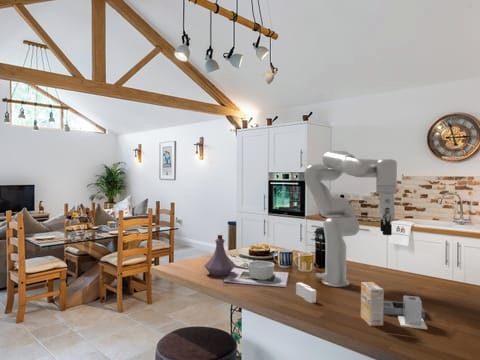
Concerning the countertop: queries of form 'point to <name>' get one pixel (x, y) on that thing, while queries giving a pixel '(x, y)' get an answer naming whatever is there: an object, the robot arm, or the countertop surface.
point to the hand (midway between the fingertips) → (385, 233)
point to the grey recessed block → (396, 309)
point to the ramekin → (261, 269)
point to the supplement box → (372, 303)
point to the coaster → (402, 323)
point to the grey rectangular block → (412, 310)
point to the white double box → (306, 292)
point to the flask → (219, 260)
